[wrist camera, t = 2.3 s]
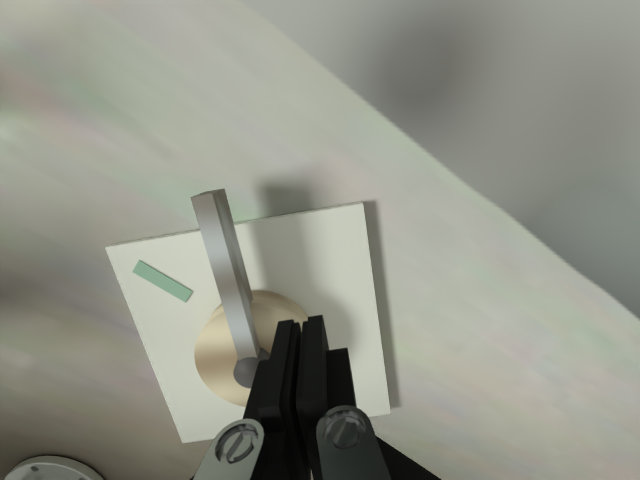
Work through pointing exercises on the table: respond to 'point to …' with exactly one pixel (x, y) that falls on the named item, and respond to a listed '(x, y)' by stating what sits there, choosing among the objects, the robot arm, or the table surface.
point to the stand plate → (263, 275)
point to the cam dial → (234, 308)
